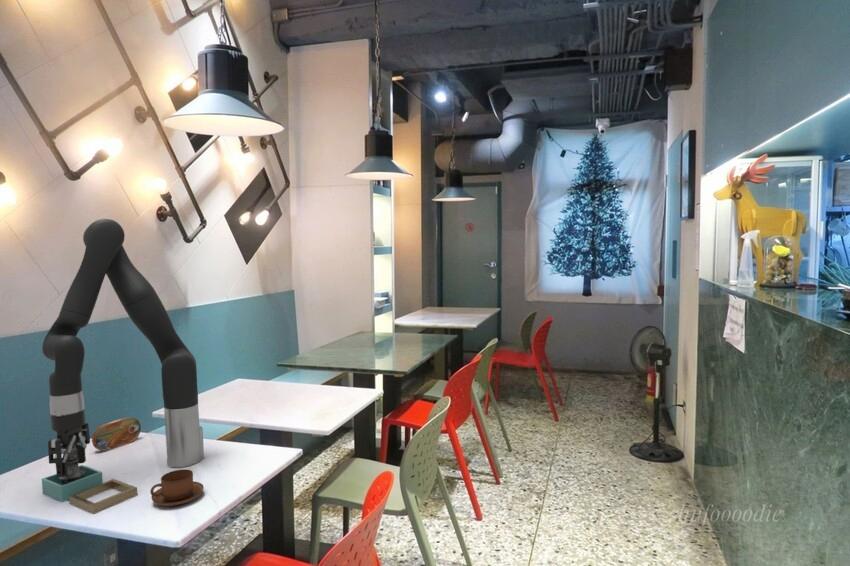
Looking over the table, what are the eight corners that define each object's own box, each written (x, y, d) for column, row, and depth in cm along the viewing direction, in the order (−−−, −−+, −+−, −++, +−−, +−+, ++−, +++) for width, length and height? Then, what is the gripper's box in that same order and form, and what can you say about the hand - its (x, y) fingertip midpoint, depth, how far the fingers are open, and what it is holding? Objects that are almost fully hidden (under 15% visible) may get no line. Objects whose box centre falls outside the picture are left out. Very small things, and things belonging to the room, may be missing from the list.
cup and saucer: (170, 515, 126) (168, 490, 126) (141, 503, 132) (140, 479, 132) (213, 494, 136) (212, 471, 136) (185, 484, 143) (184, 462, 142)
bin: (83, 478, 147) (82, 464, 147) (103, 486, 142) (102, 471, 142) (42, 493, 139) (41, 478, 138) (62, 502, 134) (61, 486, 133)
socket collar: (113, 486, 142) (113, 478, 142) (137, 494, 137) (137, 487, 137) (69, 503, 133) (69, 495, 133) (93, 513, 127) (92, 505, 127)
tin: (96, 455, 165) (95, 428, 164) (90, 453, 166) (89, 427, 166) (142, 439, 178) (140, 414, 178) (136, 437, 180) (134, 413, 179)
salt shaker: (83, 489, 139) (80, 445, 138) (57, 494, 137) (54, 449, 136) (88, 481, 144) (85, 438, 144) (62, 485, 142) (59, 441, 141)
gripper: (68, 402, 146) (72, 459, 147) (34, 419, 132) (39, 482, 133) (97, 401, 146) (100, 458, 148) (66, 417, 132) (70, 480, 133)
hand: (71, 469), depth 140 cm, fingers open, 8 cm apart
